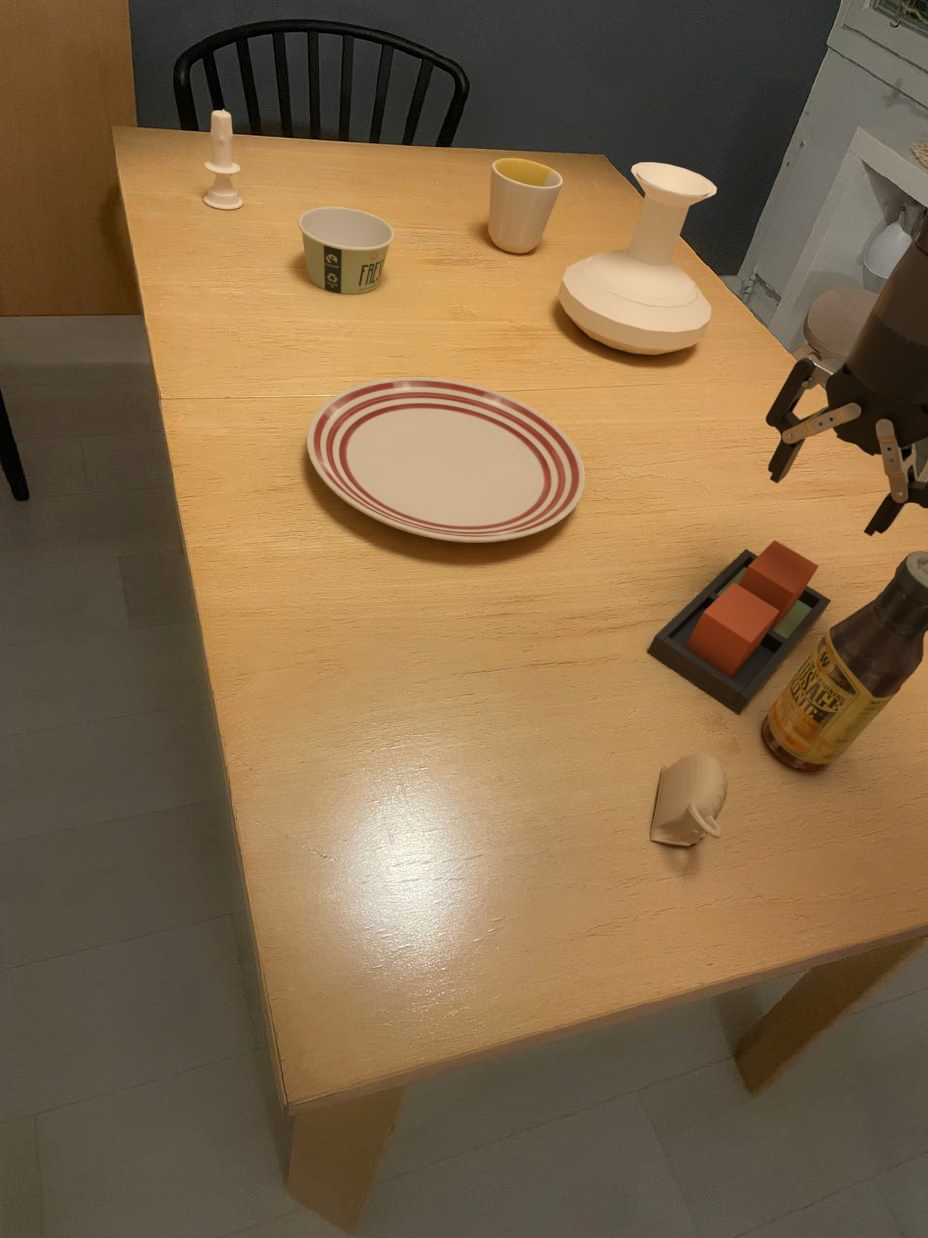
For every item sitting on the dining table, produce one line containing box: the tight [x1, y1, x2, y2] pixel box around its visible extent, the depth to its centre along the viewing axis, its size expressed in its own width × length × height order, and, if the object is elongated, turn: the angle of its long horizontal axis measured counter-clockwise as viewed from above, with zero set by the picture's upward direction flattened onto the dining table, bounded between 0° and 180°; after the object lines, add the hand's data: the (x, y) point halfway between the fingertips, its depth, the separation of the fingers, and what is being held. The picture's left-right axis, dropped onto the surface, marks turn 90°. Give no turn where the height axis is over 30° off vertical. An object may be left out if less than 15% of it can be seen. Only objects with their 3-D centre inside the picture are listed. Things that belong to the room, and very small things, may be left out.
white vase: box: [557, 161, 718, 356], centre depth 110 cm, size 20×20×19 cm
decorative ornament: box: [650, 752, 729, 847], centre depth 62 cm, size 4×8×5 cm, turn 161°
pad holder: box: [647, 548, 832, 715], centre depth 78 cm, size 9×17×2 cm, turn 140°
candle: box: [203, 108, 244, 211], centre depth 119 cm, size 5×5×12 cm
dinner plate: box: [306, 376, 586, 544], centre depth 86 cm, size 28×27×3 cm
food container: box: [297, 206, 396, 295], centre depth 111 cm, size 12×12×6 cm
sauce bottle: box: [762, 550, 928, 772], centre depth 63 cm, size 7×6×20 cm
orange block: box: [738, 539, 819, 630], centre depth 79 cm, size 4×6×5 cm
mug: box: [487, 157, 564, 255], centre depth 127 cm, size 14×10×10 cm
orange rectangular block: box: [685, 583, 779, 679], centre depth 74 cm, size 4×6×5 cm
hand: (823, 504), depth 72 cm, fingers open, 8 cm apart
